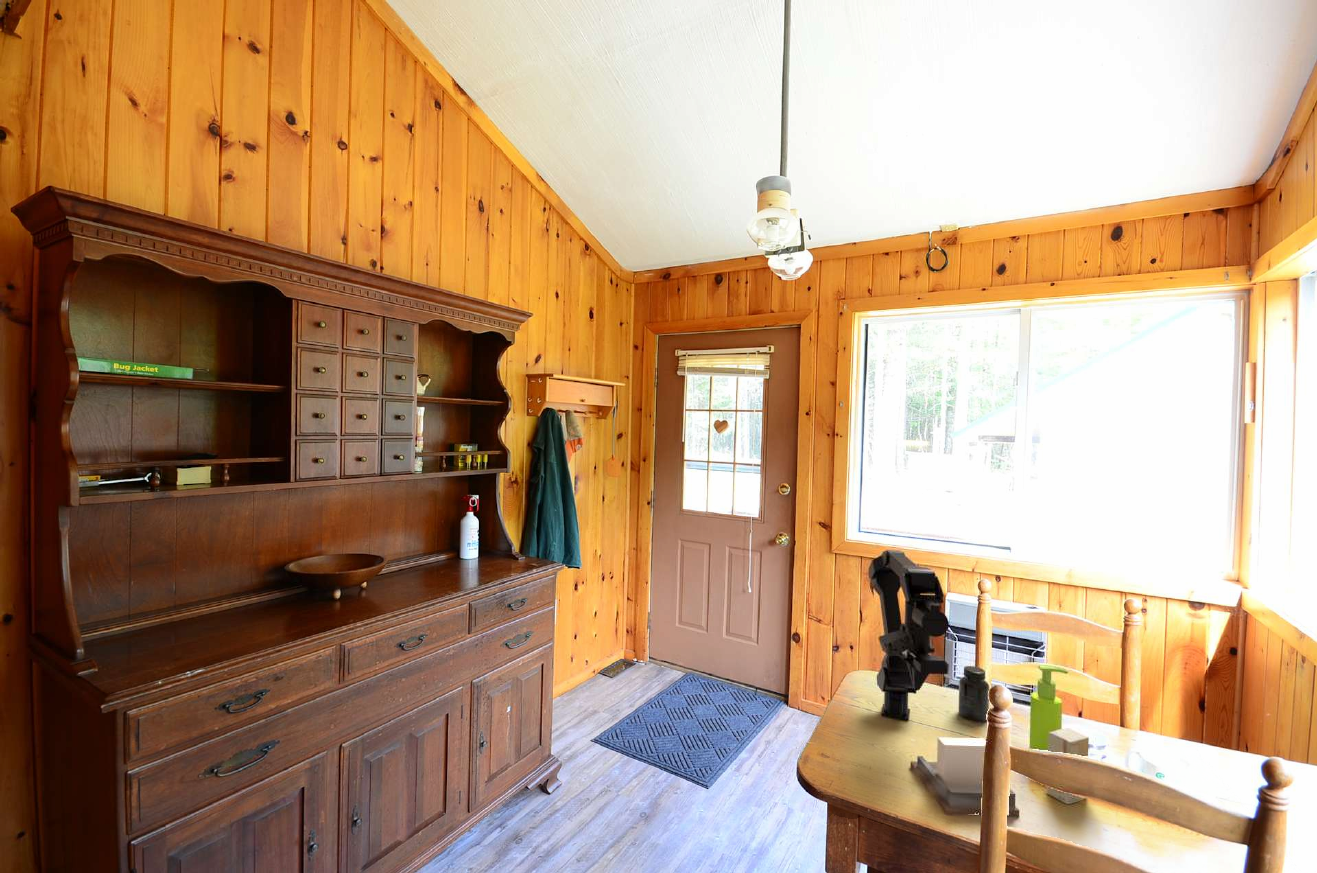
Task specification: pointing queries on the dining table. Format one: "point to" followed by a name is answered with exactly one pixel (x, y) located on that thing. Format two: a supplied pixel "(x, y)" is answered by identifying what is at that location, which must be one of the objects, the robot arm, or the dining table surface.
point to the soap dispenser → (1045, 709)
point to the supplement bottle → (973, 694)
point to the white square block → (960, 761)
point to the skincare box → (1071, 744)
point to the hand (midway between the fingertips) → (916, 689)
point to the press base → (937, 797)
